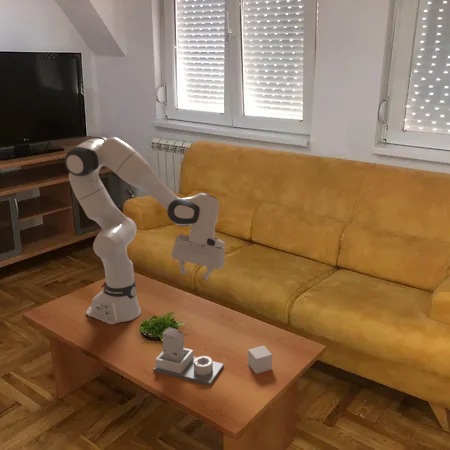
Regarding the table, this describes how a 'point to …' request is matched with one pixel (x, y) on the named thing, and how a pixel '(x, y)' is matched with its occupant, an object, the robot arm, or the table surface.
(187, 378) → the socket holder
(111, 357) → the table surface
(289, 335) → the table surface
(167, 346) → the skincare box
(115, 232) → the robot arm
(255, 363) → the light grey cube
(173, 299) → the table surface
